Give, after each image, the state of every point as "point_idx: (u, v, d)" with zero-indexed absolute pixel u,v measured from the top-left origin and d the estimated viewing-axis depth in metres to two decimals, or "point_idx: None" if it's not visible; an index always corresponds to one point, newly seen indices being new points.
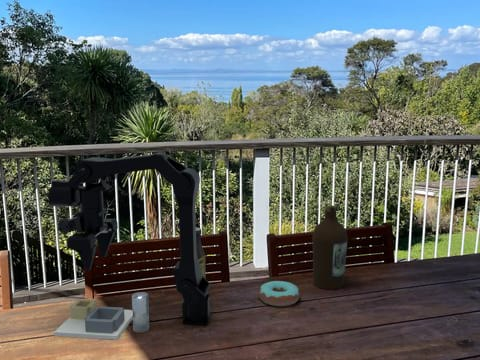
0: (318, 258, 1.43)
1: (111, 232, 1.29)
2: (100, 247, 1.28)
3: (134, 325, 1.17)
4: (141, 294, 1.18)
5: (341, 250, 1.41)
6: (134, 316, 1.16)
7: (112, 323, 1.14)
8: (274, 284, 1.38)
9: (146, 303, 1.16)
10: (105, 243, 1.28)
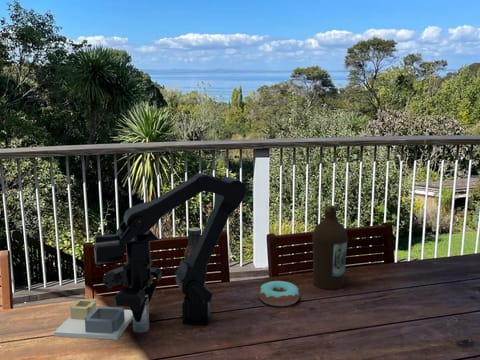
0: (318, 258, 1.43)
1: (153, 286, 1.20)
2: None
3: (134, 325, 1.17)
4: None
5: (341, 250, 1.41)
6: None
7: (112, 323, 1.14)
8: (274, 284, 1.38)
9: (146, 303, 1.16)
10: None
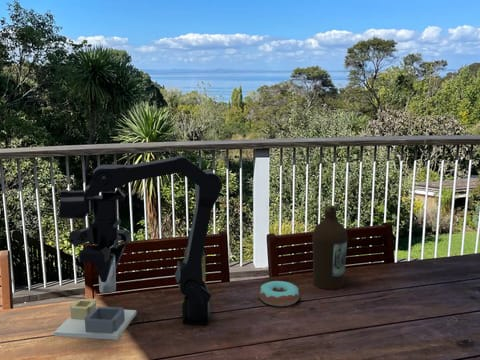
0: (318, 258, 1.43)
1: (120, 247, 1.18)
2: None
3: (100, 285, 1.15)
4: None
5: (341, 250, 1.41)
6: None
7: (112, 323, 1.14)
8: (274, 284, 1.38)
9: (113, 263, 1.14)
10: None
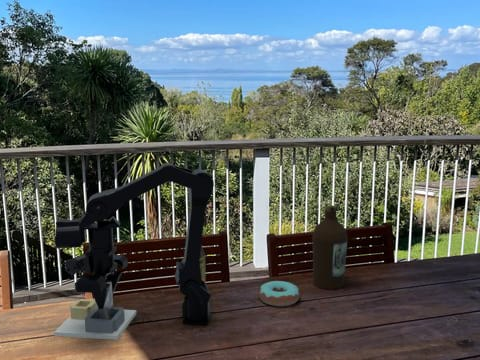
0: (318, 258, 1.43)
1: (117, 273, 1.20)
2: None
3: (97, 312, 1.16)
4: None
5: (341, 250, 1.41)
6: None
7: (112, 323, 1.14)
8: (274, 284, 1.38)
9: (109, 290, 1.16)
10: None
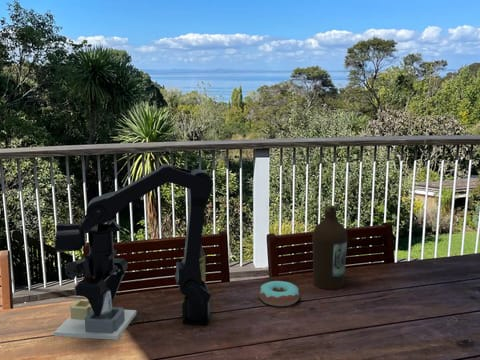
0: (318, 258, 1.43)
1: (120, 274, 1.22)
2: None
3: None
4: None
5: (341, 250, 1.41)
6: None
7: (112, 323, 1.14)
8: (274, 284, 1.38)
9: (108, 299, 1.16)
10: (114, 285, 1.21)
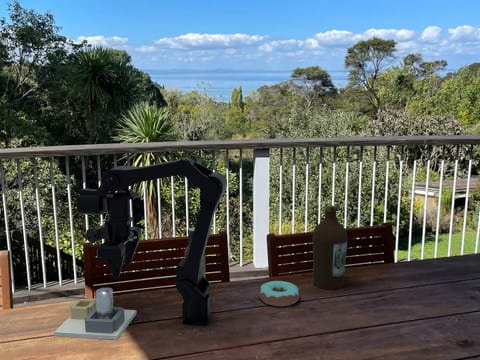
0: (318, 258, 1.43)
1: (136, 240, 1.29)
2: (125, 255, 1.29)
3: None
4: (106, 289, 1.18)
5: (341, 250, 1.41)
6: (98, 311, 1.16)
7: (112, 323, 1.14)
8: (274, 284, 1.38)
9: (110, 298, 1.17)
10: (130, 251, 1.28)
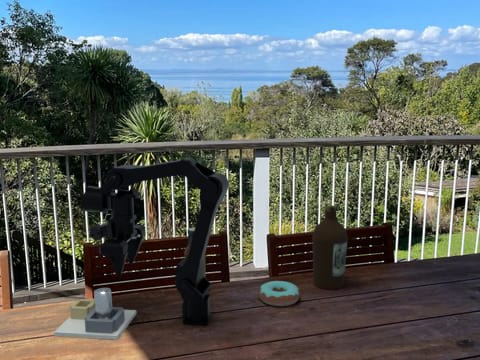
0: (318, 258, 1.43)
1: (139, 238, 1.31)
2: (128, 253, 1.30)
3: None
4: (104, 289, 1.18)
5: (341, 250, 1.41)
6: (97, 312, 1.16)
7: (112, 323, 1.14)
8: (274, 284, 1.38)
9: (109, 298, 1.16)
10: (133, 249, 1.30)
